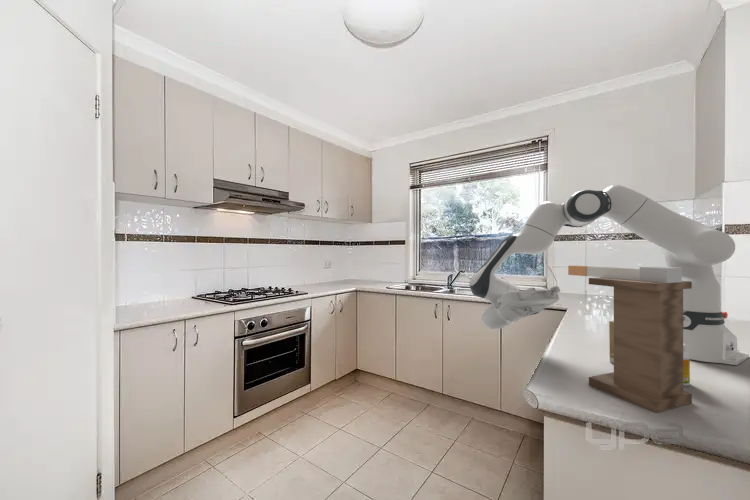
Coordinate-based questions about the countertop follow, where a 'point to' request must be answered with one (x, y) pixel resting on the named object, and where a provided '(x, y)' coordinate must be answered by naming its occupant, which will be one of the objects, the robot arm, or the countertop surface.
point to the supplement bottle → (686, 367)
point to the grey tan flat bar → (630, 273)
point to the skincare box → (611, 340)
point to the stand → (646, 344)
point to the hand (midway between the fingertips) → (546, 289)
